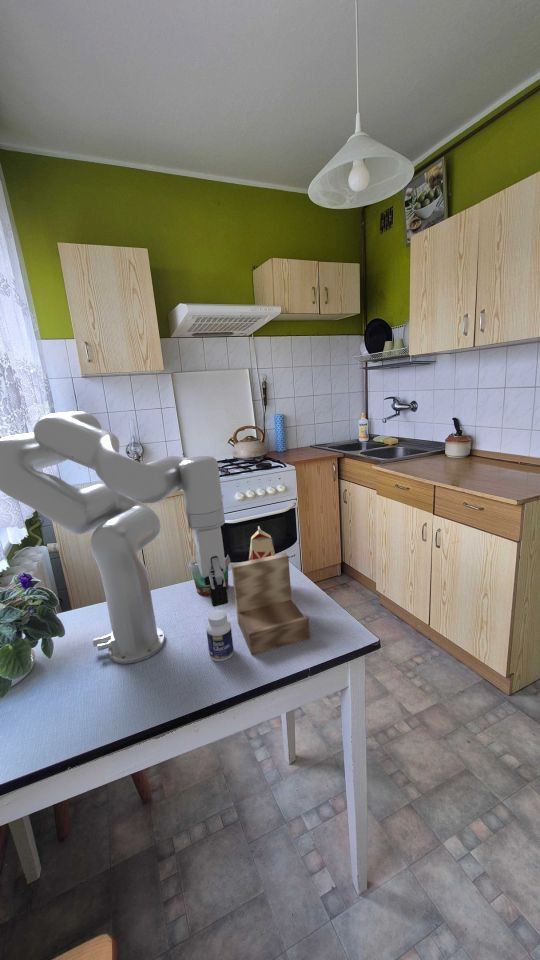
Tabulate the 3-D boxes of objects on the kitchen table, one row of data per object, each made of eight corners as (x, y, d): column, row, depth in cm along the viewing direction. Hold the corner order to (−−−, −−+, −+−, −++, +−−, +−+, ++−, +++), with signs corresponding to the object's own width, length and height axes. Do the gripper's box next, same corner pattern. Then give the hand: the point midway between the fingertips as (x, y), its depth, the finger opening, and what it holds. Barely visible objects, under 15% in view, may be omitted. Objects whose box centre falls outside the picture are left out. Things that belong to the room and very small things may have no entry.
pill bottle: (213, 665, 82) (208, 624, 80) (206, 651, 86) (201, 612, 84) (237, 656, 84) (233, 616, 82) (229, 643, 89) (224, 605, 86)
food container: (192, 602, 108) (188, 569, 106) (191, 592, 114) (187, 560, 111) (236, 593, 111) (232, 561, 108) (232, 584, 116) (229, 553, 114)
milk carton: (281, 599, 106) (275, 530, 101) (248, 601, 106) (241, 533, 102) (281, 583, 115) (276, 519, 110) (250, 584, 115) (244, 521, 111)
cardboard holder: (251, 654, 84) (244, 588, 81) (237, 623, 96) (231, 564, 93) (309, 638, 88) (305, 574, 85) (289, 609, 100) (285, 553, 97)
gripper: (183, 509, 85) (193, 580, 89) (192, 534, 69) (204, 619, 73) (216, 504, 87) (225, 573, 91) (233, 526, 71) (242, 609, 75)
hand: (216, 593), depth 82 cm, fingers open, 9 cm apart
